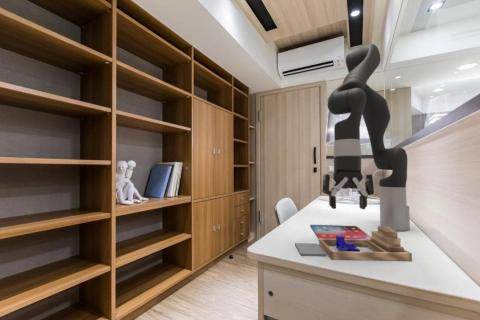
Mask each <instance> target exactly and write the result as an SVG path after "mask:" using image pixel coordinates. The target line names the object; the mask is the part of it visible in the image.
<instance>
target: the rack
mask: <svg viewBox="0 0 480 320" xmlns="http://www.w3.org/2000/svg"><path fill="white" fill-rule="evenodd" d="M345 242H352V243H354V245H355V246H367V247H368V249H369V250H371V251H360V252H349V251H339V250H338V251H337V250H336V251H335V250H332V249H331V247H336V239H318V246H319V247H320V248H321V249H322V250H323V251H324V253H325V254H326V256H327V257H329V259H330V260H332V261H333V260H335V261H381V262H382V261H387V262H388V261H389V262H391V261H393V262H394V261H395V262H400V261H401V262H413V255H412V254H413V253H412V252H410V251H408V250H406V249H404V252H387V251H385V250H384V249H382V248H381V247H379V246H377V245H376V244H374V243H373V242H371V239H345ZM367 247H366V248H367Z"/></svg>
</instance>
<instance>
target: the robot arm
mask: <svg viewBox="0 0 480 320" xmlns="http://www.w3.org/2000/svg"><path fill="white" fill-rule="evenodd" d="M380 64H381V53H380V50H379V48H378V46H377V45H376V44H374V43H369V44H367V45H364V46H362V47H360V48H358V49H357V50H354V51H351V52H350V53H348V54H347V55H346V56H345V65H346V69H347V72H348V73H347V75H346V76H345V77H344V80H343V81H342V83H341V84H340V85H339V86H338V87H336V88H335V89H334V90H333V91H332V93H330V95H329V97H328V99H327V109H328V111H329V112H330V113H331V114H332V115H335V116H337V115H339V116H341V115H346V114H349V115H348V117H347V118H345V119H342V120H339V121H337V122H336V123H335V124H334V126H333V127H334V128H333V129H334V133H333V135H334V136H333V137H334V141H333V142H334V143H333V174H328V173H324V174H322V175H323V176H322V177H323V178H322V193H323V194H325V195H328V201H329V202H328V205H329V207H331V209H332V210H336V209H337V196H336V194H337V193H339V191H340V190H341V189H342V190H343V189H345V190H346V189H352V190H355V191H357V193H358V194H359V197H358V198H359V199H358V200H359V201H358V202H359V206H358V207H359V209H361V210H366V208H367V207H368V196H370V195H374V193H375V191H374V190H375V187H374V179H373V178H374V177H373V174H369V173H368V174H367V173H366V174H362V146H361V140H360V139H361V134H360V133H361V132H360V130H361V129H360V128H361V120H362V117H363V121H364V125H365V127H366V130H367V131H366V132H367V135H368V139H369V143H370V148H371V153H372V158H373V162H374V165H375V166H376V168H377V169H378V170H380V171H392V172H391V174H390V175H388V176H386V177H384V178H381V179H379V181H378V182H379V183H378V185H379V220H380V221H379V223H380V226H379V227H389V228H391V229H393V230H394V231H396V232H405V231H410V230H411V223H410V222H411V221H410V220H411V219H410V215H411V214H410V206H409V205H408V204H407V201H408V200H407V181H408V153H407V151H406V149H404V148H402V147H392V148H390V147H389V148H385V144H384V136H385V133H386V130H387V128H388V126H389V123H390V120H391V112H390V109H389V105H388V101H387V100H386V98H385V97H384V96H383V95H381V94H380V93H379V92H377V91H376V90H375V89H373V88H372V87H371V86H370V85H368V84H367V83H368V81H369V79H370V78H371V76H372V75H373V74H374V72H375V71H376V70H377V69H378V67H379V66H380ZM332 180H333V181H334V184H333V185H332V187H331V188H330V182H331V181H332ZM362 180H363V182H364V186H365V188H364V186H363V185H362V184H361V181H362Z"/></svg>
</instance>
